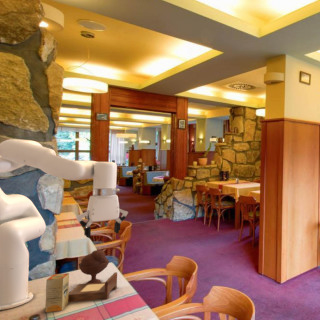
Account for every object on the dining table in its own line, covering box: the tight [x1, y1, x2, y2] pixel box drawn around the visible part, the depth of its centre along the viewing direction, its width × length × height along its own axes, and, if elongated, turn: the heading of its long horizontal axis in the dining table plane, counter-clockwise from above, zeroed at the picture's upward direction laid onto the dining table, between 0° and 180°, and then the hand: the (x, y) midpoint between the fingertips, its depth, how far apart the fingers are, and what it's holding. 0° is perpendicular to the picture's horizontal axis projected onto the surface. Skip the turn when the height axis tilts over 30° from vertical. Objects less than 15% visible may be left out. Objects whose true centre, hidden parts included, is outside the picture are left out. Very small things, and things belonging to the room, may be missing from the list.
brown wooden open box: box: [68, 271, 118, 303], centre depth 118 cm, size 14×10×7 cm
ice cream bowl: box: [78, 249, 110, 283], centre depth 129 cm, size 11×11×15 cm
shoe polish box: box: [45, 272, 70, 313], centre depth 107 cm, size 5×5×12 cm
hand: (102, 234), depth 114 cm, fingers open, 9 cm apart
